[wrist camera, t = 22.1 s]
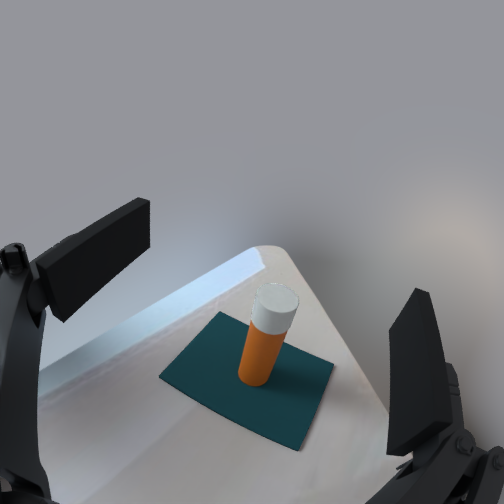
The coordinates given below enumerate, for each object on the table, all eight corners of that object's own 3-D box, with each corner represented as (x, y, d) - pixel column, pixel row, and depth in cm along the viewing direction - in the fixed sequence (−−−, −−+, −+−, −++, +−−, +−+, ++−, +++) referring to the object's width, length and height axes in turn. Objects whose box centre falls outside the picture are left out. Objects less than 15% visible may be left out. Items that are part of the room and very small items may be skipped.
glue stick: (231, 377, 32) (248, 300, 25) (246, 356, 35) (267, 277, 28) (261, 392, 31) (290, 319, 24) (274, 369, 34) (304, 293, 27)
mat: (159, 377, 30) (158, 375, 30) (219, 312, 41) (219, 310, 41) (297, 451, 25) (298, 450, 25) (333, 365, 36) (334, 363, 36)
